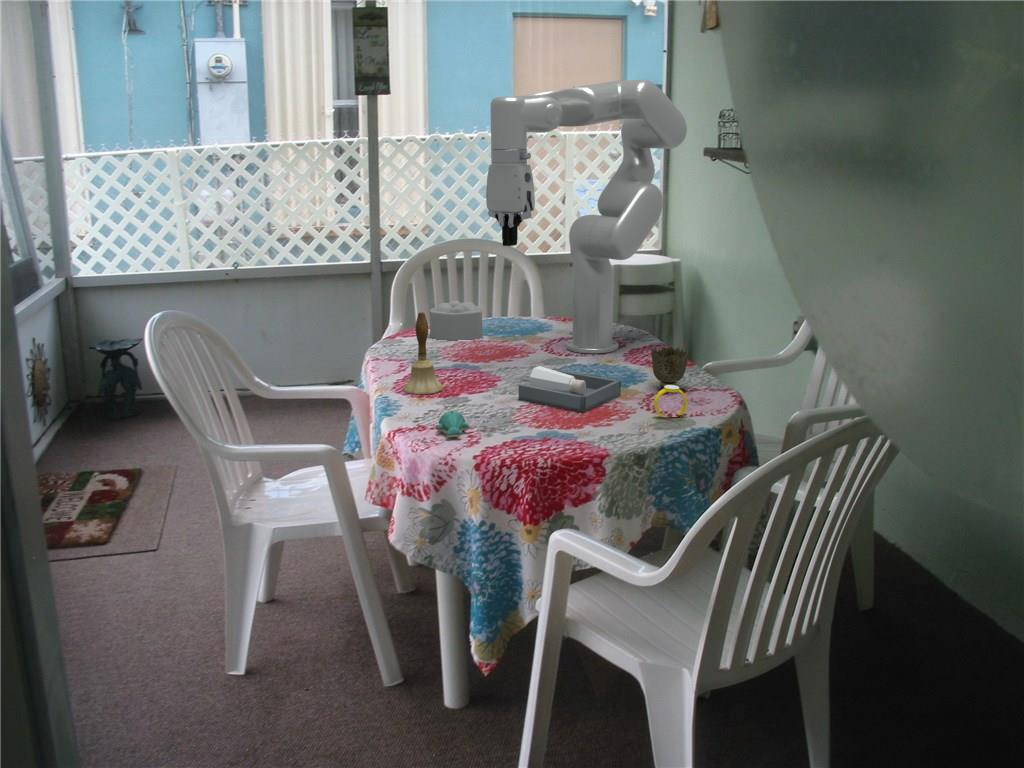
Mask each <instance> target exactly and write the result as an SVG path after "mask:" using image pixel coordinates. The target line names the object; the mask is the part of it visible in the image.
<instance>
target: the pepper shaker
mask: <svg viewBox="0 0 1024 768" xmlns="http://www.w3.org/2000/svg"><path fill="white" fill-rule="evenodd" d="M528 379H529V380H528V381H529V383H528V384H529V385H528V386H533V387H539V388H544V389H549V390H554V391H560V392H565V393H570V394H572V393H573V392H575V393H579V394H583V393H584V392H585V389H586V383H585V381H584V380H576V379H575V378H574V376H571V375H568V374H565V373H561V372H558V371H556V370H554V369H551V368H548V367H544V366H541V365H539V366H536V367H533V369H532V371H531V373H530V375H529V378H528Z"/></svg>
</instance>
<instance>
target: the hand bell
mask: <svg viewBox="0 0 1024 768" xmlns="http://www.w3.org/2000/svg"><path fill="white" fill-rule="evenodd" d="M416 317H417V318H416V321H415V329H414V330H415V336H416V340H417V343H418V344H417V347H418V350H417V351H418V354H417V355H418V356H417V360H416V361H415V362H413V363H412V364H411V368H410V376H409V379H408V381H407V383H406V384H405V385H404V386H403V388H402V390H403V392H404V393H406V394H411V395H412V394H413V395H431V394H436V393H440V392H442V391H443V390H444V389H443V388H445V387H444V385H443V384H442V383H441V382H440V381H439V379H438V378H437V375H436V372H435V365H434V363H433V362H431V361H429V360H428V359H427V354H428V353H427V339H428V336H429V324H428V320H427V317H426V314H425V312H423V311H422V312H421V311H420V312H418V315H417V316H416ZM439 391H440V392H439Z"/></svg>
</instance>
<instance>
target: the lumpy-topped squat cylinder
mask: <svg viewBox="0 0 1024 768" xmlns="http://www.w3.org/2000/svg"><path fill="white" fill-rule="evenodd" d="M429 335H430V336H429V337H430V339H431V338H432V339H431V340H433V339H436V340H435V341H438V340H447V341H446V342H449V341H455V342H459V341H458V340H473V341H476V340H475V339H480V338H482V339H483V310H482V309H480V306H479V305H476V304H475V303H473V302H471V301H465V302H460V301H459V300H452V301H450V302H441V303H439V304H438V305H437V306H436V307H432V308H430V310H429ZM480 340H481V339H480Z"/></svg>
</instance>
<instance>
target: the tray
mask: <svg viewBox="0 0 1024 768" xmlns="http://www.w3.org/2000/svg"><path fill="white" fill-rule="evenodd" d="M555 371H558V372H561V373H565V374H568V375H571V376H574V378H575V379H576V380H584V381H585V383H586V389H585V392H584V393H583V394H579V393H575V392H573V393H572V394H570V393H565V392H560V391H554V390H549V389H544V388H539V387H533V386H529V385H527V384H522V383H520V384H518V401H522V402H527V403H534V404H538V405H542V406H543V405H544V406H548V407H552V408H553V407H554V408H558V409H563V410H568V411H572V412H578V413H583V414H584V413H586V412H588V411H591V410H593V409H594V408H596V407H598V406H601V405H603V404H606V403H607V402H609V401H612V400H613V399H615V398H618V397H620V396H621V393H622V392H621V391H622V390H621V388H622V386H621V385H622V384H621V382H622V380H618V379H613V378H605V377H601V376H595V375H588V374H583V373H577V372H572V371H566V370H561V369H556V370H555Z"/></svg>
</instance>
